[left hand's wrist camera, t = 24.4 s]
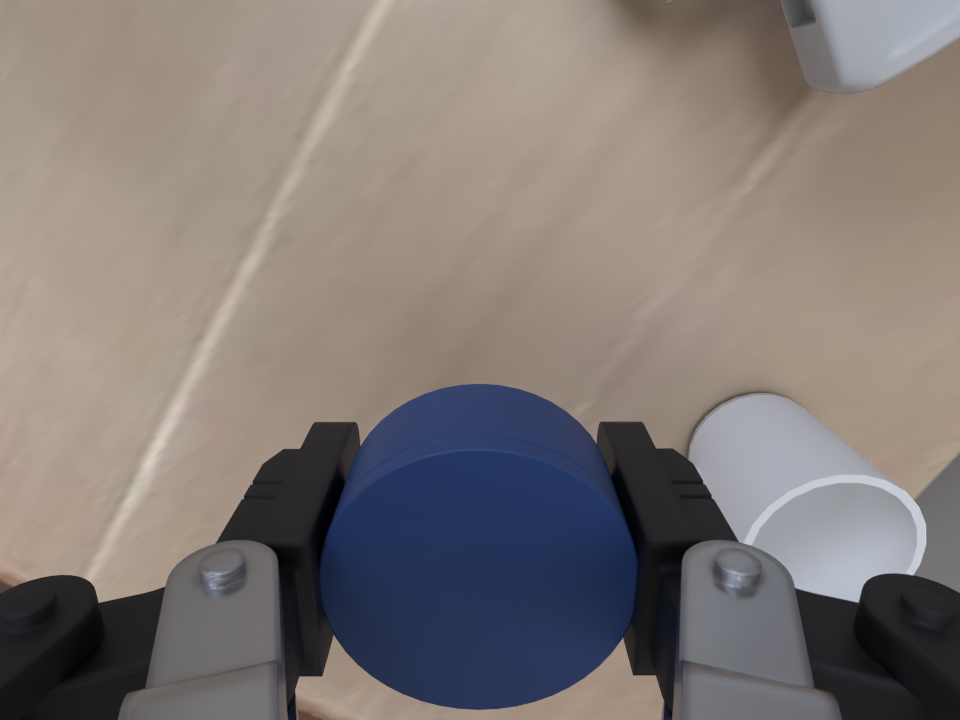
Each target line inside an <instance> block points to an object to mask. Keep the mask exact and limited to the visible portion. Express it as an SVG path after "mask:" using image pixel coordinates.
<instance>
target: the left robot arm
mask: <svg viewBox="0 0 960 720" xmlns="http://www.w3.org/2000/svg"><path fill="white" fill-rule="evenodd" d="M597 446H598V447H599V448H600V451H601V453H602V455H603V457H604V459H605V461H606V463H607V466H608V469H609V472H610V475H611V478H612V481H613V484H614V486H615V489H616V492H617V495H618V498H619V501H620V504H621V507H622V509H623V512H624V515H625V518H626V521H627V524H628V527H629V530H630V532H631V535H632V538H633V541H634V545H635V548H636V552H637V555H638V565H637V577H636V586H635V596H634V606H633V614H632V620H631V622H630V625H629V627H628V629H627V630H626V632H625V634H624V636H623V639H624V642H625V646H626V650H627V654H628V657H629V661H630V665H631V669H632V673H633V675H656V677H657V680H658V683H659V687H660V690H661V693H662V696H663V699H664V702H663V710H662V720H960V593H959V592H957V591H955V590H953V589H951V588H949V587H947V586H945V585H942V584H940V583H937V582H935V581H932V580H929V579H926V578H922V577H918V576H913V575H908V574H898V573H888V574H881V575H877V576H874V577H872V578H870V579H869V580H867V581H866V582H865V584H864V585H863V588H862V591H861V595H860V599H859V603H858V602H853V601H848V600H844V599H839V598H834V597H830V596H825V595H820V594H816V593H811V592H807V591H804V590H800V589H797V588H795V586H794V582H793V579H792V576H791V574H790V573H789V571H788V570H787V569H786V567H785V566H784V565H783V564H782V563H781V562H779V561H778V560H777V559H776V558H774V557H773V556H771V555H770V554H768V553H766V552H764V551H763V550H761V549H758V548H756V547H753V546H750V545H747V544H744V543H740V542H739V541H738V539H737V538H736V536H735V534H734V532H733V531H732V529H731V527H730V526H729V524H728V522H727V520H726V519H725V517H724V515H723V514H722V512H721V510H720V509H719V507H718V505H717V503H716V502H715V500H714V499H712V495H711V493H710V491H709V490H708V488H707V486H706V485H705V484H703V479H702V478H701V476H700V474H699V473H698V471H697V469H696V467H695V466H694V464H693V463H692V462H690V461H689V460H688V459H686V458H685V457H684V456H682V455H681V454H679V453H678V452H677V451H675V450H674V449H656V448H655V446H654V444H653V442H652V440H651V438H650V436H649V434H648V432H647V430H646V428H645V426H644V424H643V423H642V422H600V424H599V427H598V434H597ZM359 448H360V438H359V429H358V425H357V423H356V422H315V423H314V424H313V425H312V427H311V429H310V431H309V433H308V435H307V437H306V439H305V441H304V443H303V444H302V446H301V448H300V449H283V450H282V451H280V452H279V453H278V454H276V455H275V456H273V457H272V458H271V459H269V460H268V461H266V462H265V463H264V464H263V465H262V467H261V468H260V470H259V472H258V473H257V475H256V477H255V478H254V480H253V485H250V487H249V488H248V490H247V492H246V493H245V495H244V500H241V502H240V504H239V505H238V507H237V509H236V510H235V512H234V514H233V515H232V517H231V519H230V520H229V522H228V524H227V525H226V527H225V529H224V530H223V532H222V534H221V536H220V537H219V539H218V541H217V542H216V544H213V545H210V546H207V547H204V548H202V549H199V550H197V551H196V552H194V553H192V554H190V555H189V556H187V557H186V558H184V559H183V560H182V561H181V562H179V563H178V564H177V565H176V566H175V567H174V569H173V570H172V571H171V573H170V574H169V576H168V579H167V582H166V587H163V588H160V589H157V590H154V591H151V592H147V593H143V594H139V595H134V596H129V597H125V598H120V599H115V600H111V601H106V602H101V603H98V599H97V595H96V591H95V588H94V586H93V585H92V584H91V583H90V582H89V581H87V580H86V579H84V578H81V577H78V576H71V575H57V576H49V577H43V578H39V579H35V580H31V581H28V582H25V583H22V584H20V585H17V586H15V587H13V588H10V589H8V590H6V591H4V592H2V593H1V594H0V720H298V710H297V702H296V695H295V688H296V685H297V682H298V679H299V676H323V672H324V668H325V665H326V661H327V657H328V654H329V650H330V646H331V643H332V639H333V635H334V634H333V632H332V630H331V628H330V626H329V624H328V622H327V619H326V616H325V613H324V610H323V605H322V596H321V587H320V576H319V562H320V555H321V551H322V548H323V545H324V542H325V538H326V535H327V533H328V530H329V527H330V524H331V522H332V519H333V516H334V513H335V510H336V507H337V505H338V502H339V499H340V496H341V493H342V491H343V488H344V485H345V482H346V479H347V477H348V474H349V471H350V468H351V466H352V463H353V460H354V458H355V456H356V454H357V452H358V450H359Z"/></svg>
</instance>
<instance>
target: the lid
mask: <svg viewBox="0 0 960 720" xmlns="http://www.w3.org/2000/svg"><path fill="white" fill-rule="evenodd" d="M637 565H638V555H637V552H636V548H635V545H634V541H633V538H632V535H631V532H630V530H629V527H628V524H627V521H626V518H625V515H624V512H623V509H622V507H621V504H620V501H619V498H618V495H617V492H616V489H615V486H614V484H613V481H612V478H611V475H610V472H609V469H608V466H607V463H606V461H605V459H604V457H603V455H602V453H601V451H600V448H599V447H598V446H597V444H596V443H595V441H594V440H593V438H592V437H591V435H590V434H589V433H588V432H587V431H586V429H585V428H584V427H583V426H582V425H581V424H580V423H579V422H578V421H577V420H576V419H574V418H573V417H572V416H571V415H570V414H568V413H567V412H566V411H565V410H563V409H561V408H560V407H558V406H557V405H555V404H554V403H552V402H550V401H548V400H546V399H544V398H541V397H539V396H537V395H535V394H532V393H529V392H526V391H523V390H520V389H516V388H511V387H505V386H500V385H488V384H471V385H459V386H453V387H447V388H442V389H439V390H436V391H433V392H429V393H426V394H424V395H421V396H419V397H417V398H415V399H413V400H410V401H408V402H407V403H405V404H404V405H402V406H400V407H399V408H397V409H395V410H394V411H393V412H391V413H390V414H389V415H388V416H386V417H385V418H384V419H383V420H382V421H380V423H379V424H378V425H377V426H376V427H375V428H374V429H373V430H372V431H371V432H370V433H369V435H368V436H367V438H366V439H365V440H364V442H363V443H362V445H361V446H360V448H359V450H358V452H357V454H356V456H355V458H354V460H353V463H352V466H351V468H350V471H349V474H348V477H347V479H346V482H345V485H344V488H343V491H342V493H341V496H340V499H339V502H338V505H337V507H336V510H335V513H334V516H333V519H332V522H331V524H330V527H329V530H328V533H327V535H326V538H325V542H324V545H323V548H322V551H321V555H320V562H319V576H320V587H321V596H322V605H323V610H324V613H325V616H326V619H327V622H328V624H329V626H330V628H331V630H332V632H333V634H334V635H335V637H336V639H337V640H338V642H339V643H340V644H341V646H342V647H343V649H344V650H345V651H346V653H347V654H348V655H349V656H350V657H351V658H352V659H353V660H354V661H355V662H356V663H357V664H358V665H359V666H360V667H361V668H363V669H364V670H365V671H366V672H367V673H369V674H370V675H371V676H372V677H374V678H375V679H377V680H379V681H380V682H382V683H383V684H385V685H386V686H388V687H390V688H392V689H394V690H396V691H398V692H400V693H402V694H404V695H407V696H410V697H412V698H415V699H418V700H420V701H424V702H428V703H431V704H435V705H439V706H445V707H451V708H458V709H474V710H483V709H500V708H507V707H514V706H519V705H523V704H527V703H531V702H535V701H538V700H541V699H544V698H546V697H549V696H552V695H554V694H556V693H558V692H560V691H563V690H565V689H567V688H569V687H571V686H572V685H574V684H575V683H577V682H578V681H580V680H582V679H583V678H585V677H586V676H587V675H589V674H590V673H591V672H592V671H594V670H595V669H596V668H597V667H599V666H600V665H601V664H602V662H603V661H604V660H605V659H606V658H607V657H608V656H609V655H610V654H611V653H612V652H613V650H614V649H615V648H616V646H617V645H618V644H619V642H620V641H621V640H622V638H623V636H624V634H625V632H626V630H627V629H628V627H629V625H630V622H631V620H632V614H633V606H634V596H635V586H636V577H637Z"/></svg>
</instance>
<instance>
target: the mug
mask: <svg viewBox="0 0 960 720" xmlns="http://www.w3.org/2000/svg"><path fill="white" fill-rule="evenodd" d="M688 460H689V461H690V462H692V463H693V464H694V466H695V467H696V469H697V471H698V473H699V474H700V476H701V478H702V479H703V484H705V485H706V486H707V488H708V490H709V491H710V493H711V495H712V499H714V500H715V502H716V503H717V505H718V507H719V509H720V510H721V512H722V514H723V515H724V517H725V519H726V520H727V522H728V524H729V526H730V527H731V529H732V531H733V532H734V534H735V536H736V538H737V539H738V541H739V542H740V543H744V544H747V545H750V546H753V547H756V548H758V549H761V550H763V551H764V552H766V553H768V554H770V555H771V556H773V557H774V558H776V559H777V560H778V561H779V562H781V563H782V564H783V565H784V566H785V567H786V569H787V570H788V571H789V573H790V574H791V576H792V579H793V582H794V586H795V588H797V589H800V590H804V591H807V592H811V593H816V594H820V595H825V596H830V597H834V598H839V599H844V600H848V601H853V602H858V603H859V599H860V595H861V591H862V588H863V585H864V584H865V582H866V581H867V580H869V579H870V578H872V577H874V576H877V575H881V574H888V573H898V574H908V575H914V573H915V572H916V570H917V568H918V567H919V565H920V563H921V560H922V557H923V553H924V550H925V547H926V523H925V521H924V518H923V516H922V513H921V511H920V508H919V506H918V505H917V504H916V503H915V501H914V500H913V499H912V498H911V497H910V496H909V495H908V494H907V492H906V491H905V490H904V489H903V488H901V487H900V486H899V485H898V484H897V483H895V482H894V481H893V480H892V479H890V478H889V477H888V476H887V475H886V474H884V473H883V472H882V471H881V470H879V469H878V468H877V467H876V466H875V465H873V464H872V463H871V462H870V461H868V460H867V459H866V458H865V457H864V456H862V455H861V454H860V453H859V452H857V451H856V450H855V449H854V448H853V447H851V446H850V445H849V444H848V443H846V442H845V441H844V440H843V439H842V438H840V437H839V436H838V435H837V434H835V433H834V432H833V431H832V430H831V429H829V428H828V427H827V426H826V425H824V424H823V423H822V422H821V421H820V420H818V419H817V418H816V417H815V416H813V415H812V414H811V413H810V412H809V411H807V410H806V409H805V408H804V407H802V406H801V405H800V404H798V403H797V402H795V401H793V400H791V399H790V398H788V397H785V396H781V395H777V394H773V393H751V394H747V395H743V396H739V397H735V398H733V399H731V400H729V401H727V402H725V403H722V404H720V405H719V406H718V407H716V408H715V409H714V410H713V411H711V412H710V413H709V414H708V415H706V417H705V418H704V419H703V421H702V422H701V423H700V424H699V426H698V427H697V428H696V430H695V432H694V435H693V437H692V439H691V442H690V444H689V451H688Z"/></svg>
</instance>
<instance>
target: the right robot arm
mask: <svg viewBox="0 0 960 720" xmlns="http://www.w3.org/2000/svg"><path fill="white" fill-rule="evenodd" d="M664 1H665V3H666V5H667V4H669V3H671V2H673V1H675V0H664ZM780 3H781V6H782V9H783V13H784V16H785V19H786V22H787V25H788V29H789V32H790V35H791V38H792V41H793V45H794V48H795V51H796V54H797V57H798V61H799V64H800V67H801V70H802V74H803V77H804V80H805V82H806V84H807V85H808V86H810V87H811V88H814V89H817V90H821V91H825V92H830V93H835V94H851V93H858V92H863V91H867V90H870V89H872V88H875V87H877V86H879V85H881V84H883V83H885V82H887V81H889V80H891V79H893V78H895V77H897V76H899V75H900V74H902V73H904V72H906V71H908V70H909V69H911V68H913V67H915V66H916V65H918V64H920V63H922V62H923V61H925V60H927V59H928V58H930V57H932V56H933V55H935V54H936V53H938V52H940V51H941V50H943V49H944V48H946V47H948V46H949V45H951V44H952V43H954V42H955V41H957V40H958V39H960V0H780Z"/></svg>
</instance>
